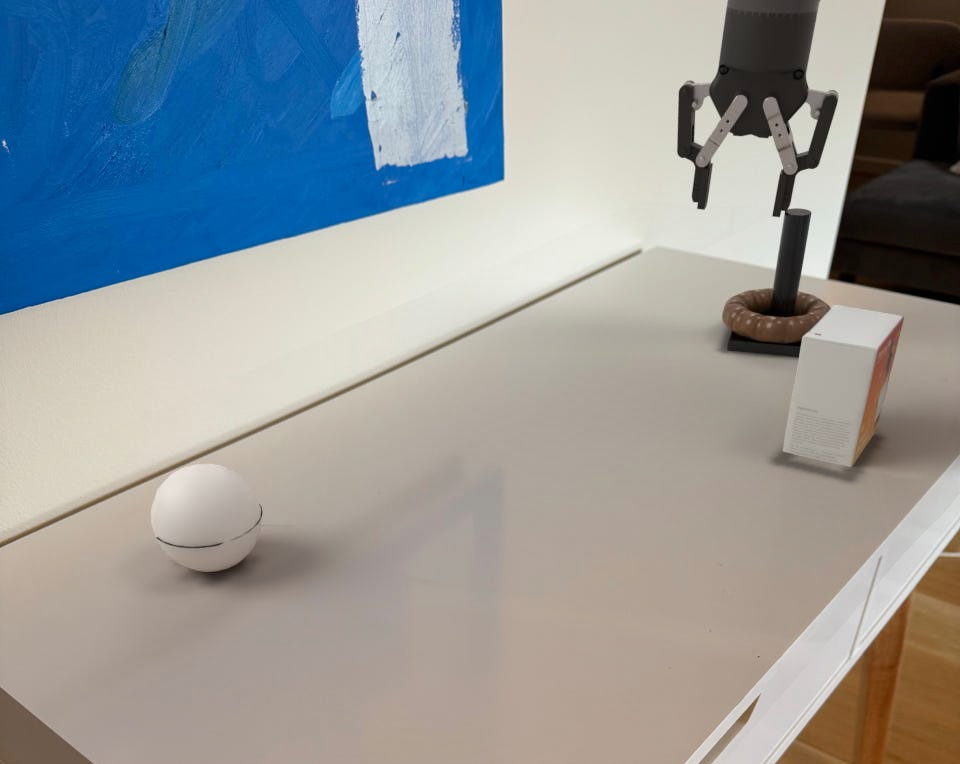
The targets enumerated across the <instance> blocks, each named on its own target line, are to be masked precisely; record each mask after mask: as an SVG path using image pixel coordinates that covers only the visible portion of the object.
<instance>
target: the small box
mask: <svg viewBox="0 0 960 764" xmlns="http://www.w3.org/2000/svg"><path fill="white" fill-rule="evenodd" d="M830 308H831V309H830V310H829V311H828V312H827V314H826V315H825V316H824V317H823V318H822V319H821V320H820V321H819V322H818V323H817V324H816V325H815V326H814V327H813V328H812V329H811V330H810V331H809V332H808V333H806V334H805V335H804V336H803V337H802V343H801V349H800V354H799V357H798V360H797V366H796V371H795V372H796V373H795V377H794V382H793V386H792V387H793V388H792V393H791V399H790V405H789V411H788V416H787V417H788V418H787V423H786V427H785V433H784V439H783V440H784V441H783V445H782V452H784V453H788V454H792V455H795V456H800V457H804V458H809V459H813V460H816V461H821V462H825V463H830V464H833V465H838V466H842V467H848V468H853V466H854V465H855V463H856V461H857V460H858V458H859V457H860V455H861V454H862V452H863V451H864V450H865V448H866V446H867V445H868V443H869V442H871V441H870V440H872V438H873V436H874V434H875V433H876V431H877V429H878V426H879V423H880V418H881V414H882V409H883V406H884V403H885V399H886V394H887V390H888V385H889V380H890V376H891V373H892V372H891V371H892V368H893V364H894V362H895V357H896V352H897V348H898V345H899V340H900V336H901V333H902V332H901V330H902V329H903V323H904V319H905V316H904V315H901V314H900V315H899V314H894V313H888V312H883V311H876V310H871V309H863V308H860V307H859V308H858V307H852V306H847V305H840V304H833V305H831V307H830Z"/></svg>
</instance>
